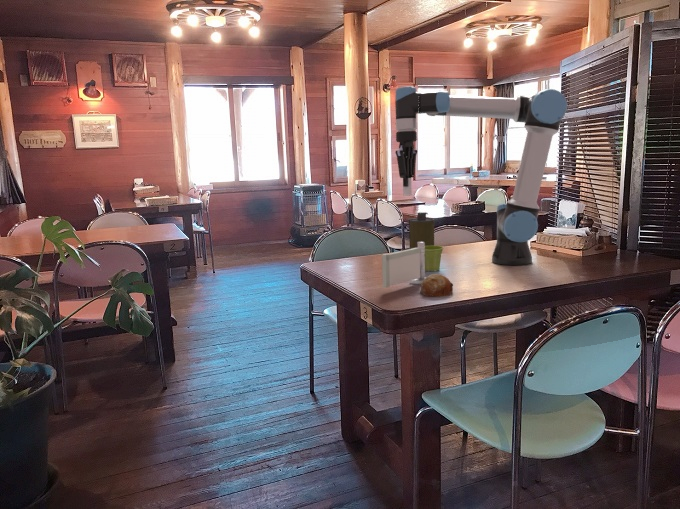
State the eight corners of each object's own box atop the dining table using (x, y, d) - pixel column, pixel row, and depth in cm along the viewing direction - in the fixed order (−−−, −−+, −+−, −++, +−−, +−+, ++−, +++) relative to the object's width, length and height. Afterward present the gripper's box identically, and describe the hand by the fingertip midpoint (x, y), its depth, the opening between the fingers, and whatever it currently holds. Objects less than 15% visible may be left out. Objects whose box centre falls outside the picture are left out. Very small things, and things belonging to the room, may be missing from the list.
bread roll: (423, 300, 182) (412, 279, 181) (450, 286, 182) (440, 265, 181) (430, 309, 172) (419, 287, 171) (460, 293, 172) (449, 271, 171)
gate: (416, 277, 191) (416, 246, 189) (420, 278, 190) (420, 247, 188) (382, 286, 180) (381, 254, 178) (386, 287, 178) (385, 255, 177)
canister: (434, 258, 233) (433, 211, 230) (435, 263, 223) (435, 213, 220) (408, 259, 235) (407, 211, 231) (408, 264, 224) (407, 214, 221)
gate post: (433, 281, 193) (432, 241, 190) (425, 285, 188) (425, 244, 185) (417, 279, 196) (417, 240, 194) (409, 283, 191) (409, 243, 189)
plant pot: (428, 273, 205) (428, 250, 204) (413, 269, 213) (413, 247, 212) (448, 270, 209) (448, 247, 208) (433, 266, 218) (433, 244, 216)
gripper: (405, 131, 212) (406, 193, 216) (388, 131, 201) (389, 196, 205) (423, 130, 207) (424, 194, 212) (406, 130, 197) (408, 196, 201)
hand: (407, 195), depth 209 cm, fingers closed
